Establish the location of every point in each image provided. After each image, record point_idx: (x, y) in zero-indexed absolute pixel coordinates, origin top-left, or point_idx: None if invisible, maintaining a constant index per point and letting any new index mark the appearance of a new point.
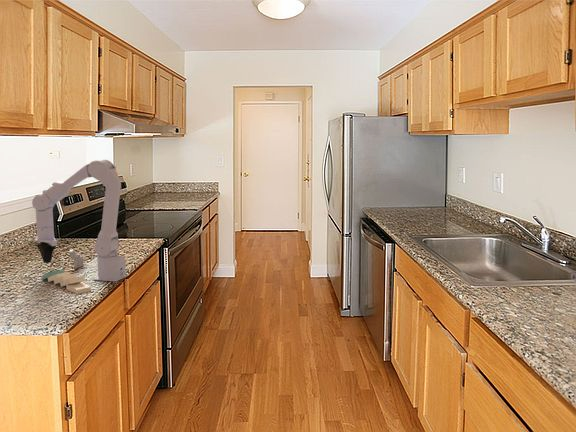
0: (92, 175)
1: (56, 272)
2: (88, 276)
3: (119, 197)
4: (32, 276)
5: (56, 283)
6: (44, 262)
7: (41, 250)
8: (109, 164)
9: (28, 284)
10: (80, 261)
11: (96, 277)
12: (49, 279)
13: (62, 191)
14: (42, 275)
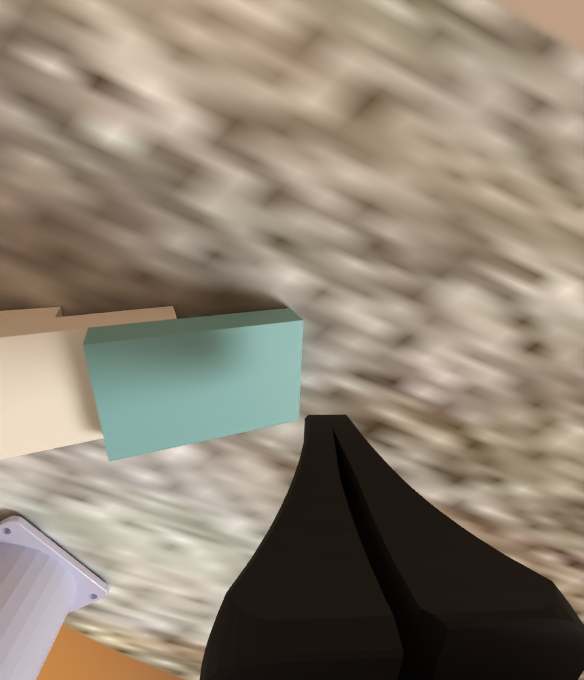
0: None
1: (95, 392)
2: (152, 529)
3: None
4: (455, 296)
5: (7, 310)
6: (327, 416)
7: (352, 531)
8: None
9: (206, 144)
10: None
11: (41, 543)
12: (140, 314)
13: None
14: (287, 320)
